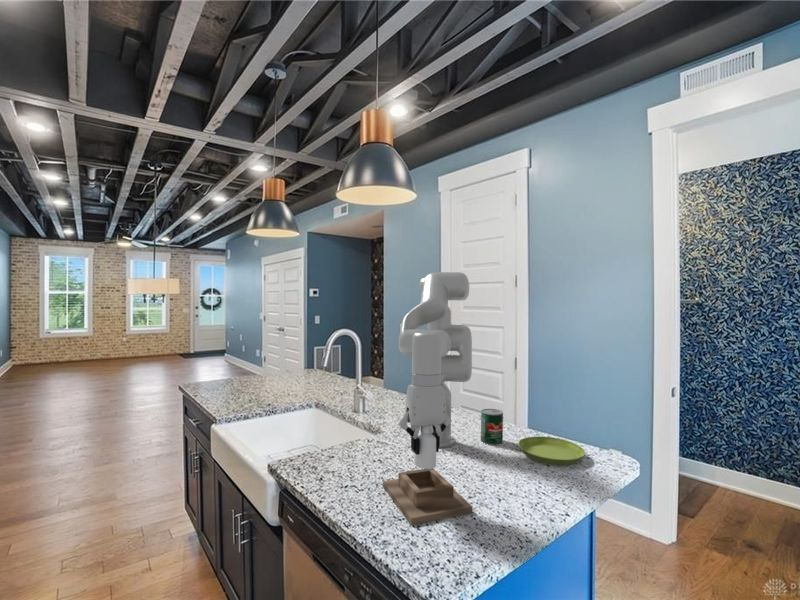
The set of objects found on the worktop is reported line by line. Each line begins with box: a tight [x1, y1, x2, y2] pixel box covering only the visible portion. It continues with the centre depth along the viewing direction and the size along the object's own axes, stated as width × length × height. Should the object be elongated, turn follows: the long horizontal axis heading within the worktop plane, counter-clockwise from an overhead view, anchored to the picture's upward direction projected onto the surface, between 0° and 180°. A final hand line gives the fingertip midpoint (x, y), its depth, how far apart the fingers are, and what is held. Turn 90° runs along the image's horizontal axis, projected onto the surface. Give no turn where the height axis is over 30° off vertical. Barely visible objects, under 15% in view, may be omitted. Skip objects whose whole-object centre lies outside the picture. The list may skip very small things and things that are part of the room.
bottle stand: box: [382, 468, 473, 526], centre depth 103 cm, size 20×16×5 cm
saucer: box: [518, 436, 586, 467], centre depth 134 cm, size 21×21×3 cm
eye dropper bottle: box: [413, 426, 437, 469], centre depth 103 cm, size 4×6×12 cm
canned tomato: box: [480, 408, 504, 446], centre depth 147 cm, size 8×8×11 cm
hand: (425, 450), depth 103 cm, fingers closed on eye dropper bottle, 4 cm apart
